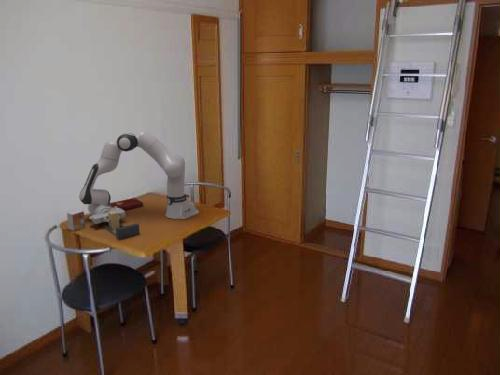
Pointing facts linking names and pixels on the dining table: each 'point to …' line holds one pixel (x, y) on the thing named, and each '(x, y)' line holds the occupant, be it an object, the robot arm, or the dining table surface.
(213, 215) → the dining table surface
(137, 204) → the hardcover book
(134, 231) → the pallet fork attachment
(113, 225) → the tall tan pillar block
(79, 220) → the small box
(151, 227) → the dining table surface
